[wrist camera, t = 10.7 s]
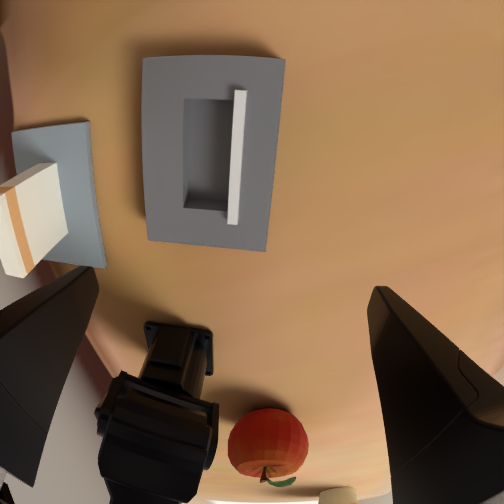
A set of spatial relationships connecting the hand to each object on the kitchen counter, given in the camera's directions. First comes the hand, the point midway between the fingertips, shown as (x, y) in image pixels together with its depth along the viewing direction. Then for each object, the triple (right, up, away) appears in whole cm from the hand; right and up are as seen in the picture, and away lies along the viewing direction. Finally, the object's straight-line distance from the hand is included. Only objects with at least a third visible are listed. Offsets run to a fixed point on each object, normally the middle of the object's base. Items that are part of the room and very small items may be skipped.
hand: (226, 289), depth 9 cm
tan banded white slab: (-15, +5, +12) cm, 20 cm away
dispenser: (-2, +8, +10) cm, 13 cm away
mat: (-15, +6, +12) cm, 20 cm away
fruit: (+3, -19, +26) cm, 33 cm away
